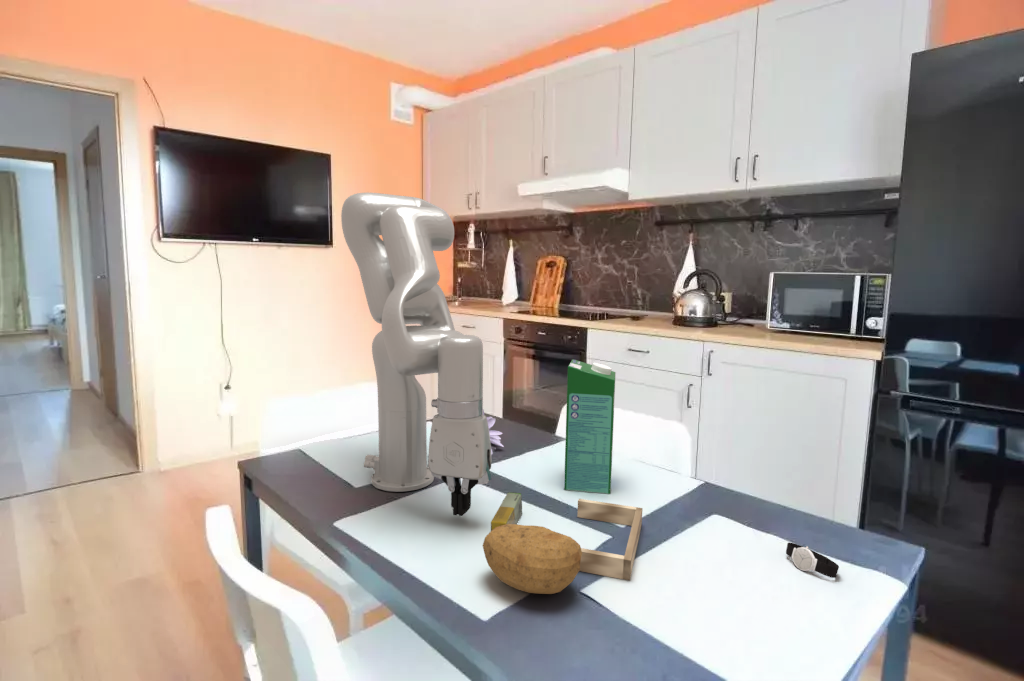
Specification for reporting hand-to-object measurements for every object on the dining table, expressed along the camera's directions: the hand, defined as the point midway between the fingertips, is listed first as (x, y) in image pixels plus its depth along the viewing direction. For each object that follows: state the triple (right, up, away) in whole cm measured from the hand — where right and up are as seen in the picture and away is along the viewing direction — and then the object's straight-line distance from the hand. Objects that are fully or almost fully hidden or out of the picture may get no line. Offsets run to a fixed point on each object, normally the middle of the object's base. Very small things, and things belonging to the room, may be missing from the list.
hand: (461, 512), depth 93 cm
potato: (+11, -4, -19) cm, 23 cm away
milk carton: (+24, 0, +17) cm, 30 cm away
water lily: (+2, +3, +39) cm, 39 cm away
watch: (+53, -4, -13) cm, 55 cm away
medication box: (+8, -2, -2) cm, 9 cm away
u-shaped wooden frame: (+23, -3, -7) cm, 24 cm away
